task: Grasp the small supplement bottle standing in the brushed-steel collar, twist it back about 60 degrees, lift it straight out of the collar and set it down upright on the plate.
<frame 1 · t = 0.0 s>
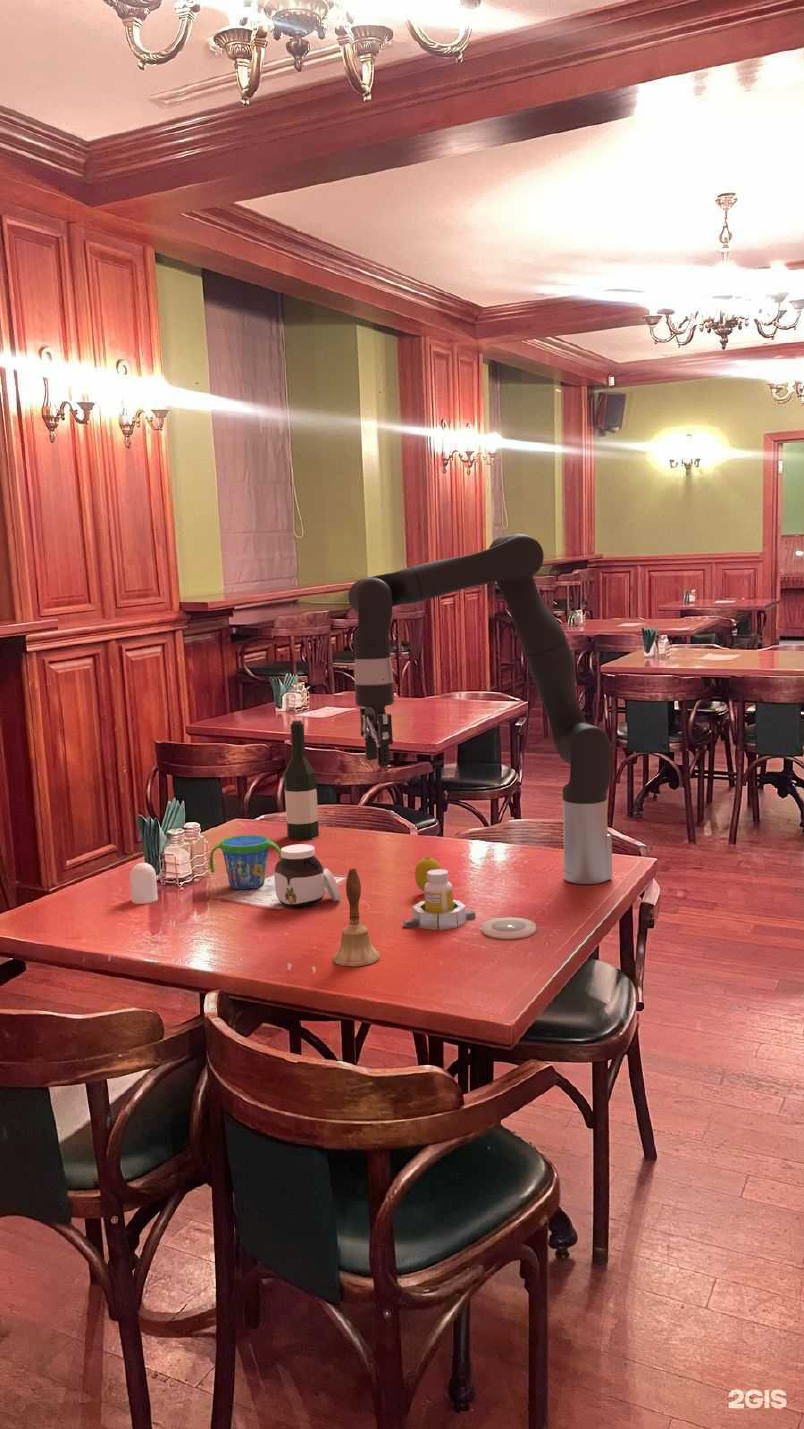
hand: (377, 762, 219), 29 cm above the table, fingers open, 8 cm apart
collar: (439, 921, 212), on the table
hand bell: (356, 959, 194), on the table
lemon: (429, 895, 230), on the table
white domed cylinder: (144, 900, 234), on the table
snack cup: (247, 886, 242), on the table
plate: (508, 930, 205), on the table
supplement bottle: (439, 922, 212), resting in collar
wine bottle: (303, 837, 285), on the table
spread jar: (310, 903, 228), on the table
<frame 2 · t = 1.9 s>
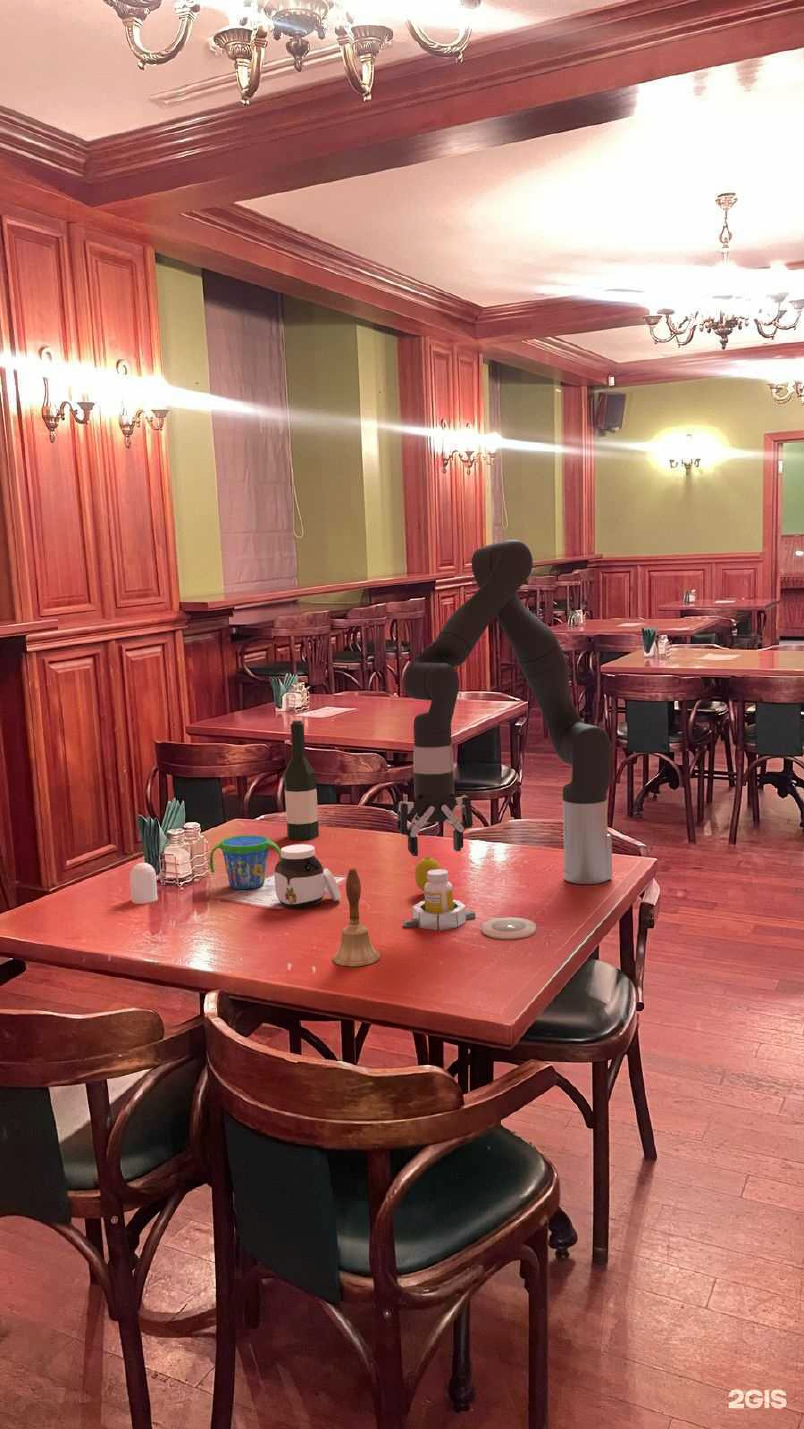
hand: (435, 853, 210), 13 cm above the table, fingers open, 8 cm apart
nothing on the table moved.
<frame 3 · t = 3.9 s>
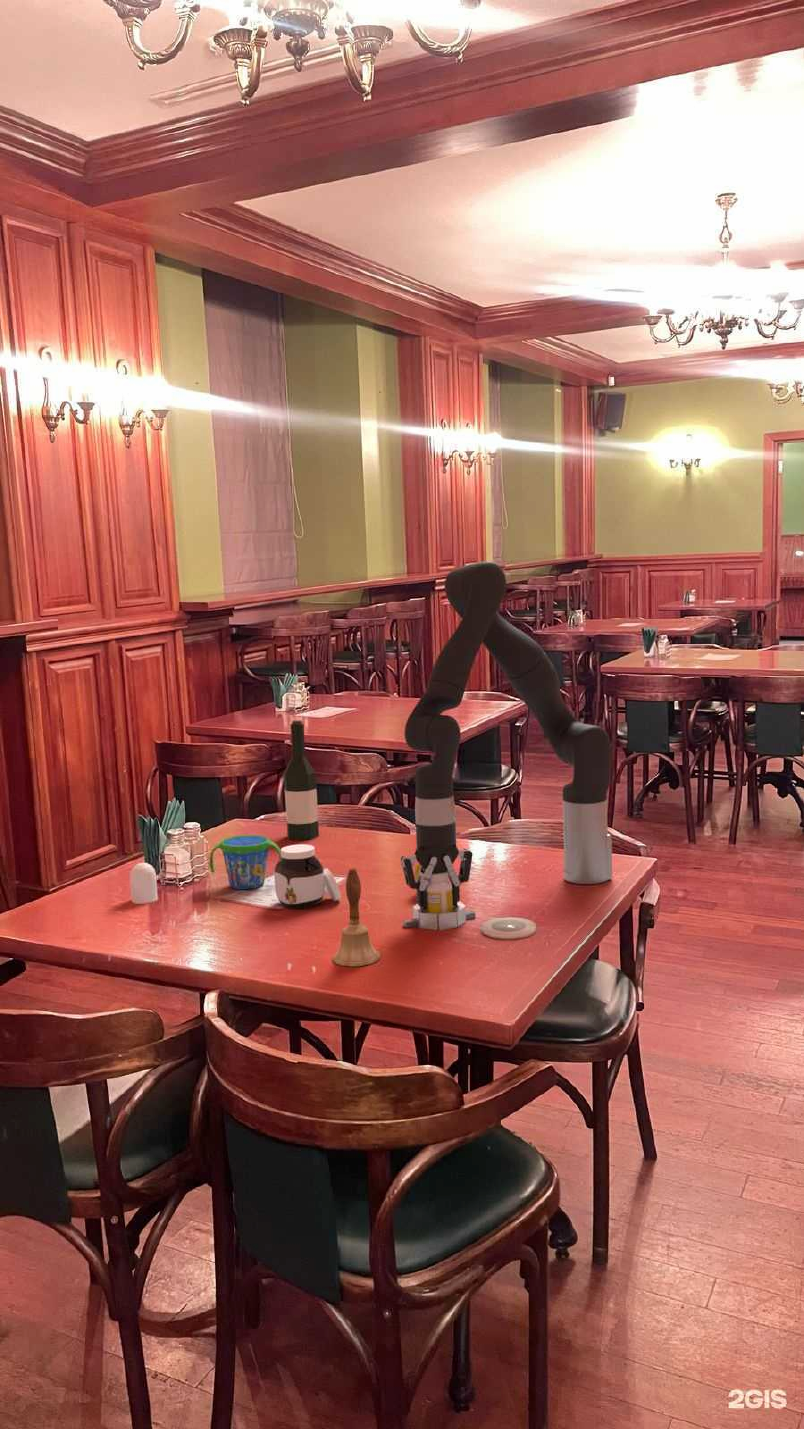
hand: (438, 906, 211), 3 cm above the table, fingers closed on supplement bottle, 5 cm apart
supplement bottle: (439, 922, 212), resting in collar, touching gripper
everything else where it was.
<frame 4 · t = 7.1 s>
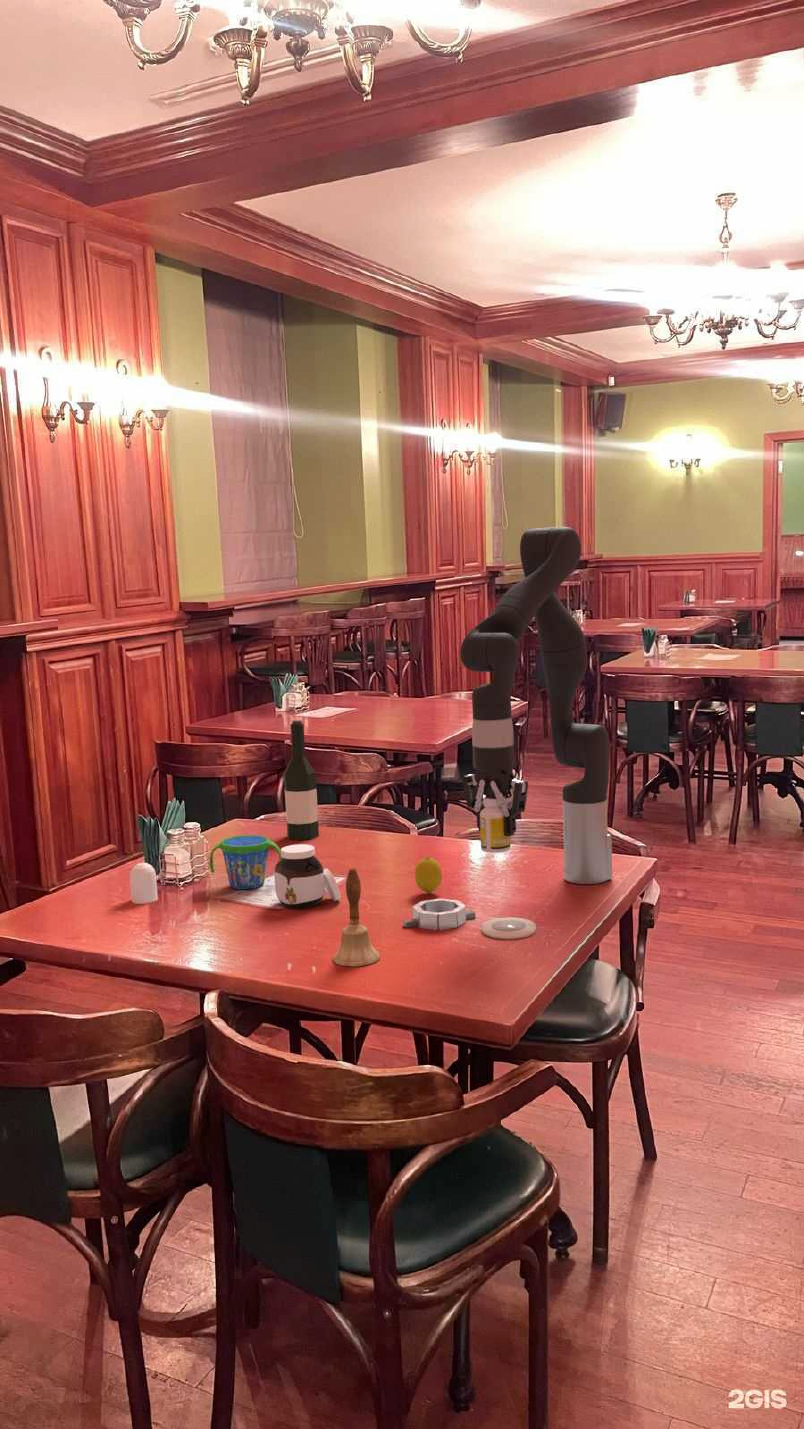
hand: (496, 832, 204), 18 cm above the table, fingers closed on supplement bottle, 5 cm apart
supplement bottle: (495, 850, 204), point 15 cm above the table, touching gripper
everything else where it was.
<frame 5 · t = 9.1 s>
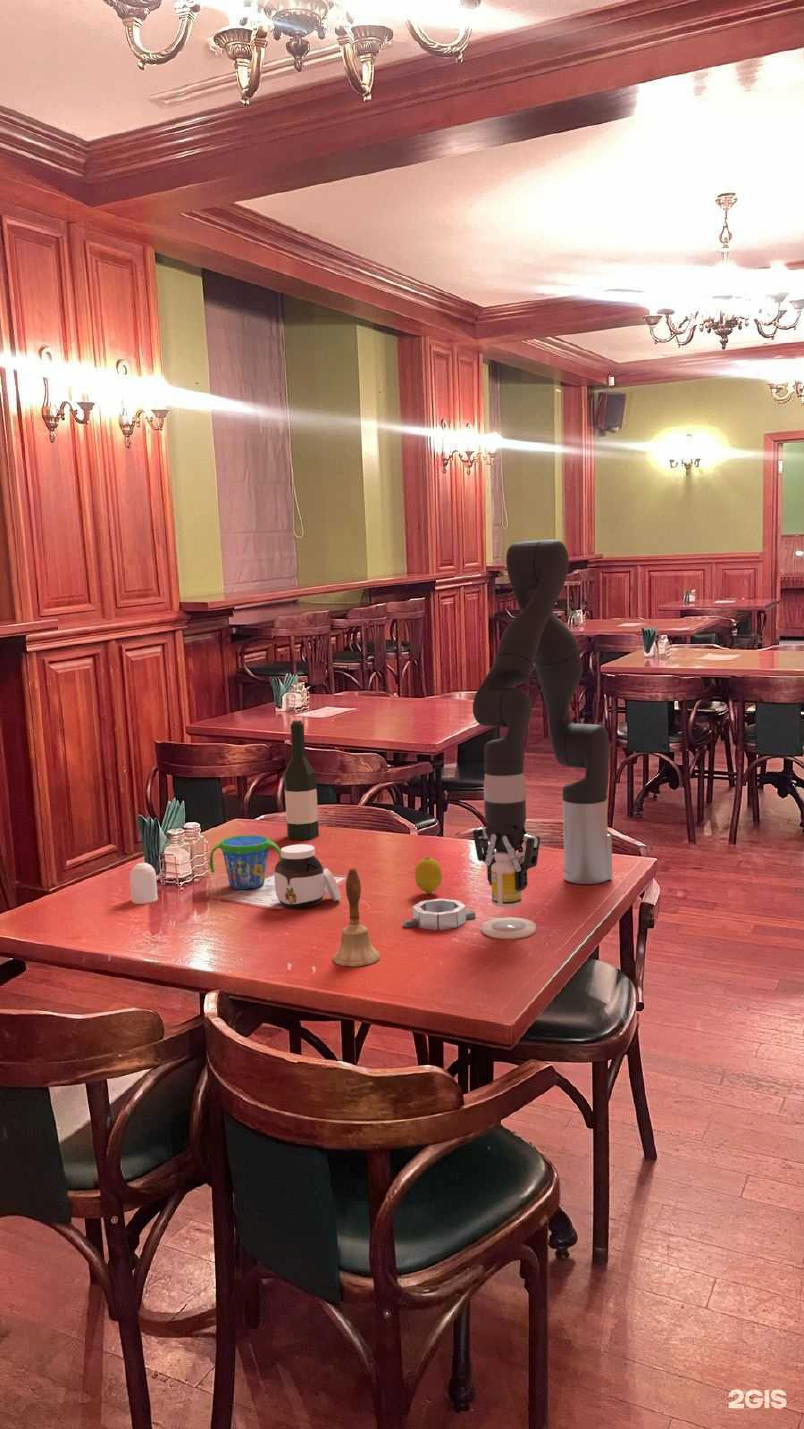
hand: (507, 886, 204), 8 cm above the table, fingers closed on supplement bottle, 5 cm apart
supplement bottle: (506, 904, 204), point 5 cm above the table, touching gripper
everything else where it was.
when the fingers open (5 cm above the table, at t = 10.7 s): supplement bottle stays where it is, resting on plate.
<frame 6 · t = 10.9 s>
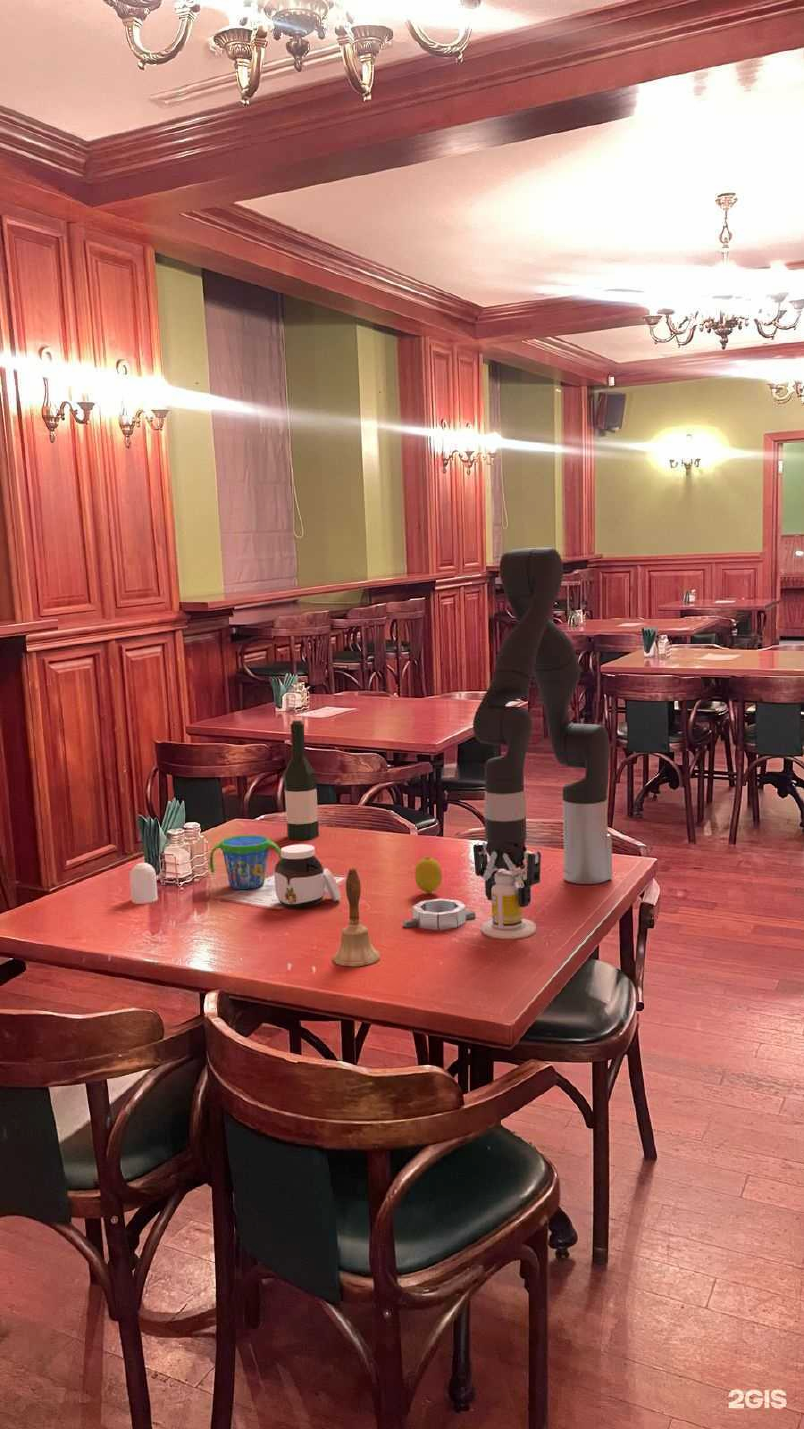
hand: (507, 902, 204), 5 cm above the table, fingers open, 6 cm apart
supplement bottle: (507, 926, 205), point 1 cm above the table, touching plate
everything else where it was.
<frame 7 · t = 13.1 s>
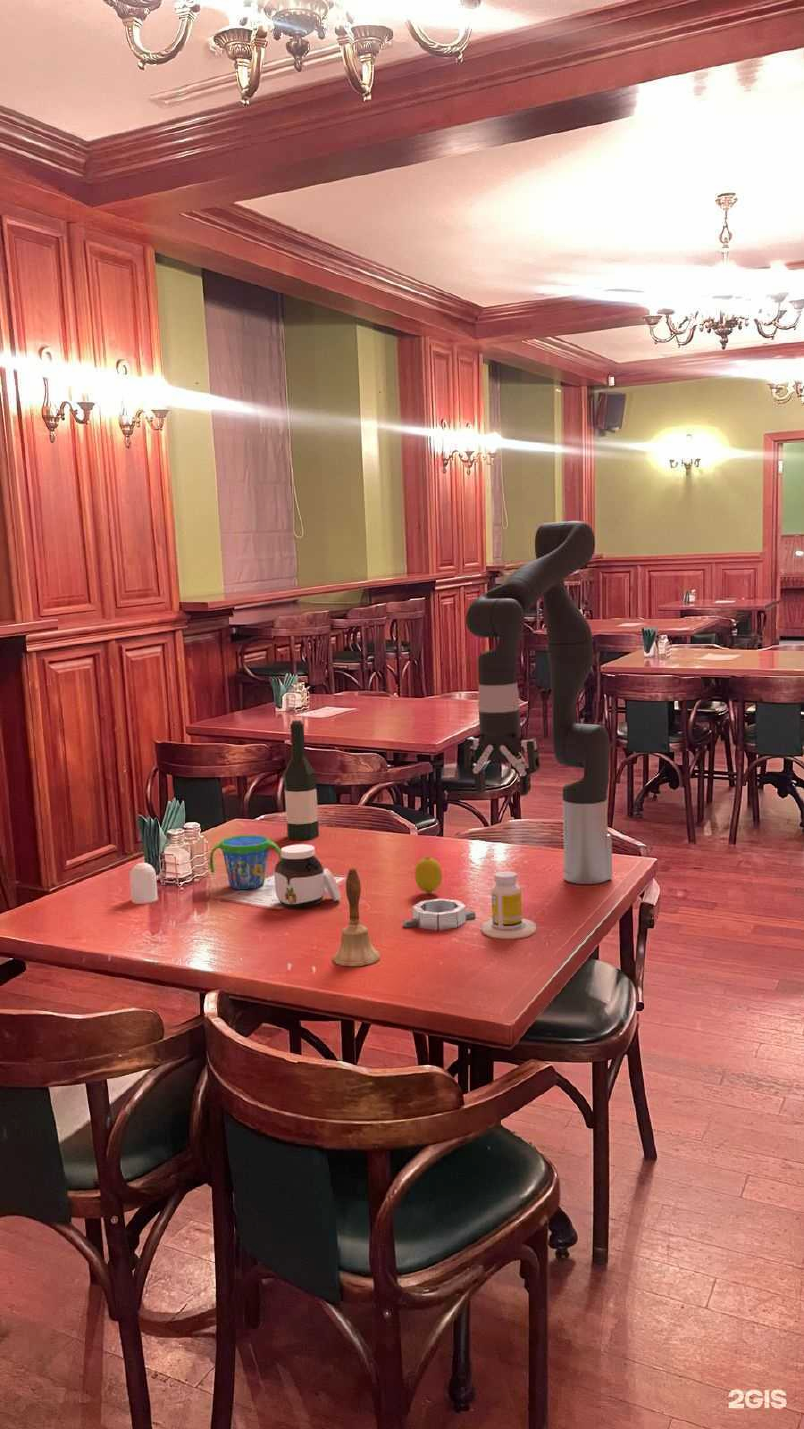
hand: (502, 793, 206), 25 cm above the table, fingers open, 8 cm apart
nothing on the table moved.
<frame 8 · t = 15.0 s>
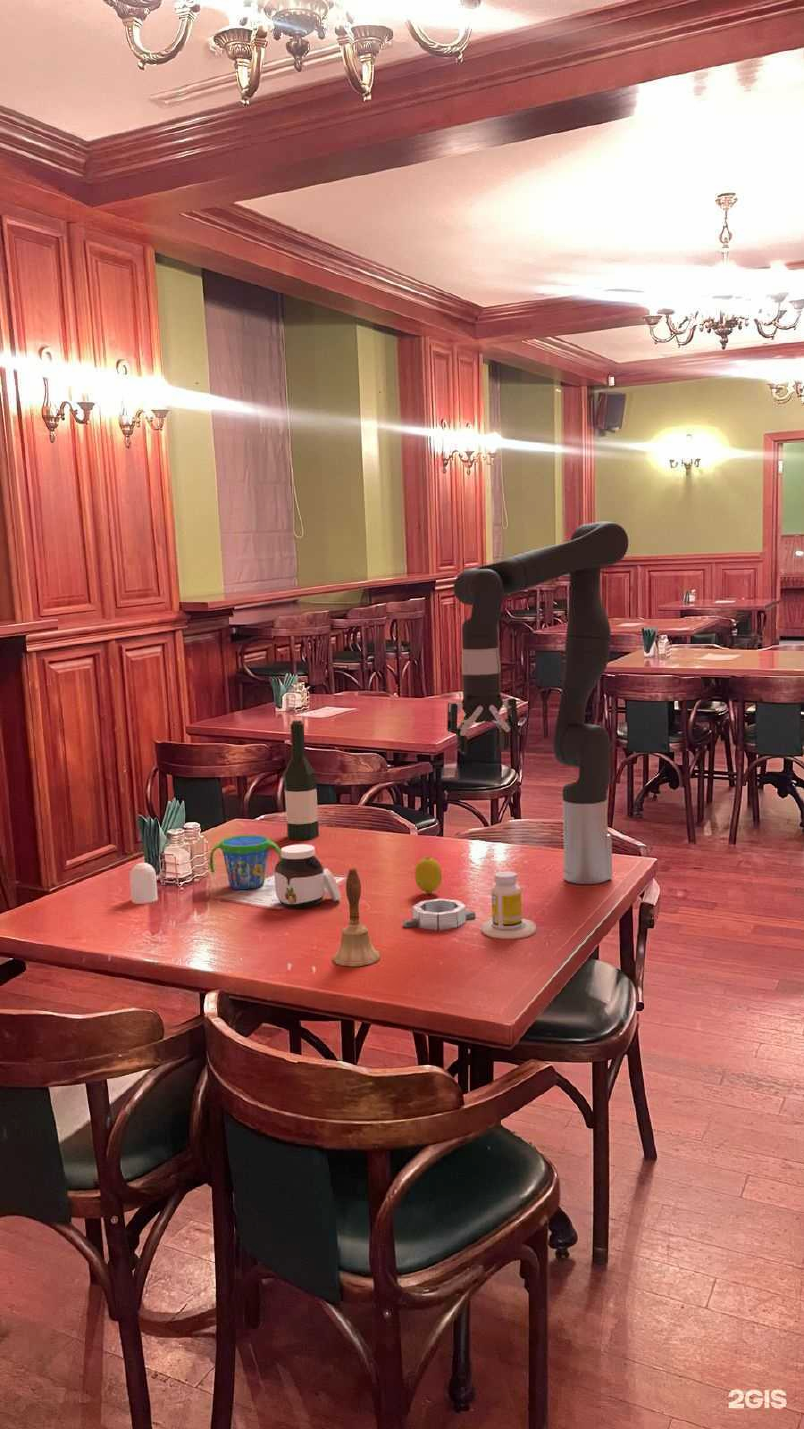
hand: (483, 752, 221), 30 cm above the table, fingers open, 8 cm apart
nothing on the table moved.
at the end: supplement bottle inside the target area on the plate (0.3 cm from its centre), point 0.7 cm above the plate's base; supplement bottle tilted 0°; the gripper is holding nothing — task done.
